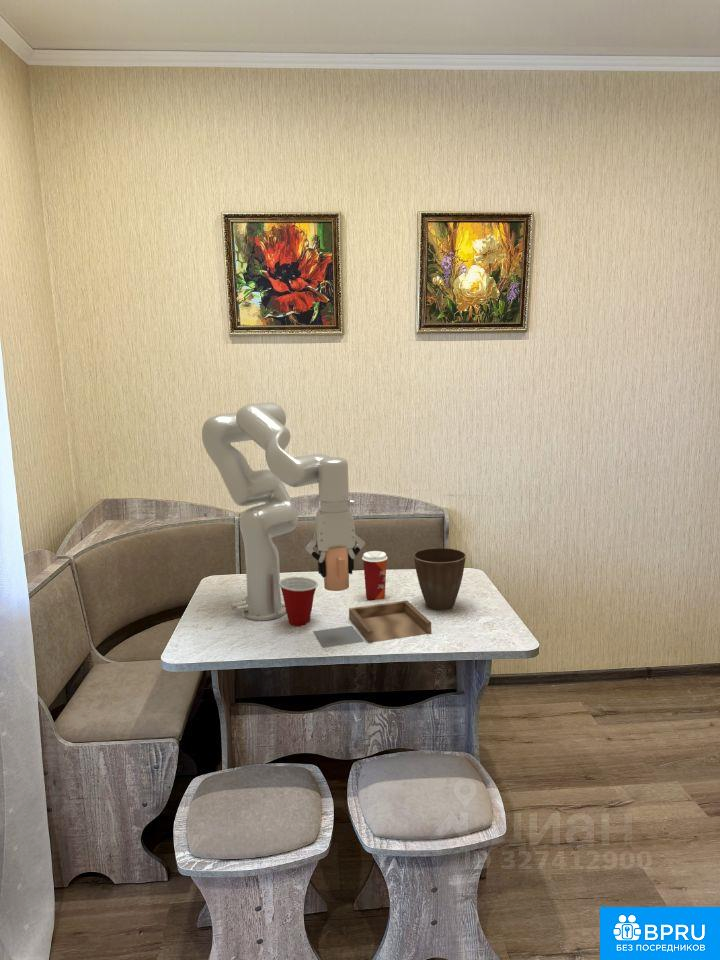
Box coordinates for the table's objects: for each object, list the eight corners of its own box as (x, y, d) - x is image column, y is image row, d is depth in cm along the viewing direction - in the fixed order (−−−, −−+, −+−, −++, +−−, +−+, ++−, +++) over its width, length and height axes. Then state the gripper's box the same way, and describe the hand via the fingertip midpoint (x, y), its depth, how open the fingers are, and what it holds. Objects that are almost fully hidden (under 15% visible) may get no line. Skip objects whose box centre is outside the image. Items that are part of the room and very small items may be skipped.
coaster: (322, 649, 172) (322, 647, 172) (312, 633, 182) (312, 631, 182) (364, 643, 175) (364, 641, 175) (351, 627, 186) (351, 625, 186)
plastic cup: (316, 630, 184) (315, 588, 182) (277, 630, 185) (275, 588, 183) (321, 615, 195) (320, 575, 193) (284, 615, 196) (282, 575, 194)
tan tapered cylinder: (321, 584, 178) (320, 543, 176) (345, 581, 180) (343, 541, 178) (330, 596, 170) (329, 553, 168) (355, 592, 171) (354, 550, 169)
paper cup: (388, 602, 204) (387, 557, 201) (362, 602, 204) (361, 557, 202) (387, 593, 212) (387, 550, 209) (363, 593, 212) (362, 550, 209)
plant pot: (408, 614, 194) (408, 560, 192) (419, 596, 208) (419, 546, 206) (461, 619, 190) (461, 564, 187) (468, 600, 204) (469, 549, 201)
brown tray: (368, 644, 174) (368, 631, 174) (349, 620, 191) (348, 608, 190) (431, 635, 180) (431, 622, 179) (407, 612, 196) (407, 600, 195)
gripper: (362, 500, 179) (363, 566, 182) (297, 506, 173) (300, 573, 177) (371, 506, 172) (372, 574, 175) (304, 512, 166) (306, 582, 170)
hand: (336, 573), depth 176 cm, fingers closed on tan tapered cylinder, 6 cm apart
